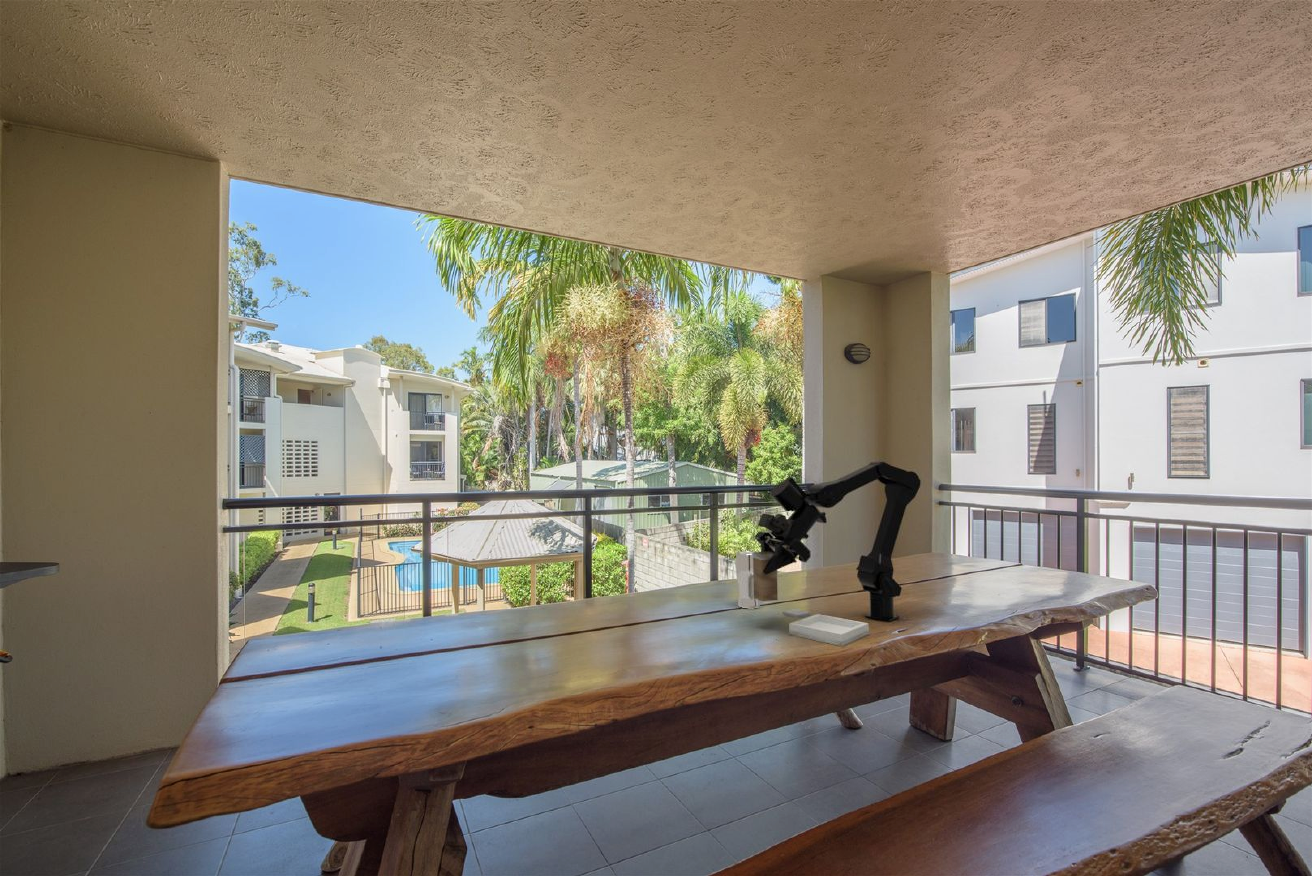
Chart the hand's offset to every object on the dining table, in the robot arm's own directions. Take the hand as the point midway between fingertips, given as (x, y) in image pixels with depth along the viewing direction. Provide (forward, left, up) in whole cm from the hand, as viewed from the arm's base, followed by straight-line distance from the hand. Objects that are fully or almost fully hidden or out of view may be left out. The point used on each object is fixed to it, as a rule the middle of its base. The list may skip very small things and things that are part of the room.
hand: (760, 571), depth 139 cm
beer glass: (-17, -16, -14) cm, 27 cm away
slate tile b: (-18, -1, -14) cm, 22 cm away
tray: (-7, +14, -13) cm, 21 cm away
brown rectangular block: (-1, +1, -7) cm, 7 cm away
